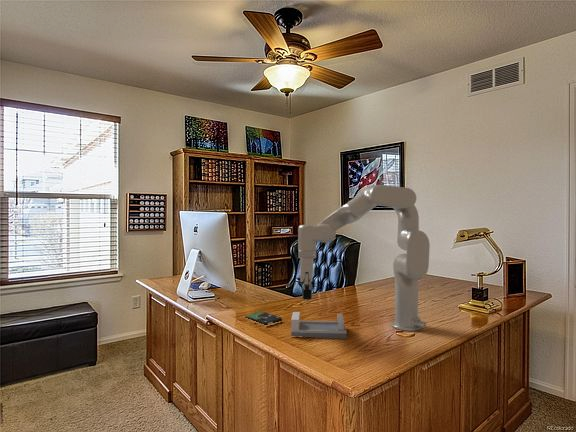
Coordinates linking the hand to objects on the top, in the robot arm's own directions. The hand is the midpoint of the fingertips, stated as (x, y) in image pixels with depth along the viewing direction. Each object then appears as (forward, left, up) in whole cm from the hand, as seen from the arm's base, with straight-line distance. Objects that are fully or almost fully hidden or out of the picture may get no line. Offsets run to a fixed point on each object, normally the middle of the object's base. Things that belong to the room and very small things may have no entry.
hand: (307, 297), depth 152 cm
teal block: (0, 0, -1) cm, 1 cm away
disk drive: (+24, +6, -15) cm, 29 cm away
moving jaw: (-11, -9, -12) cm, 18 cm away
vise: (-4, -2, -15) cm, 15 cm away
